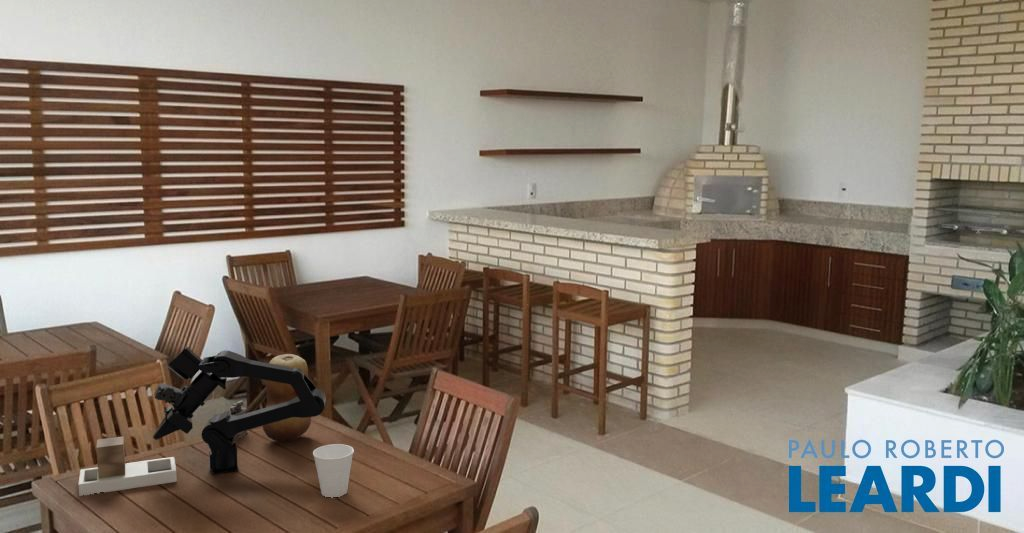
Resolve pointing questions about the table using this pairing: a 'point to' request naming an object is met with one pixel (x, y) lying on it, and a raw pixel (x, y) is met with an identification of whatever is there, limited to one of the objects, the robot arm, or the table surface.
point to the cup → (333, 468)
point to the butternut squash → (285, 393)
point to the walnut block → (110, 457)
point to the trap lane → (129, 476)
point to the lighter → (236, 411)
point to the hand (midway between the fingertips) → (154, 438)
